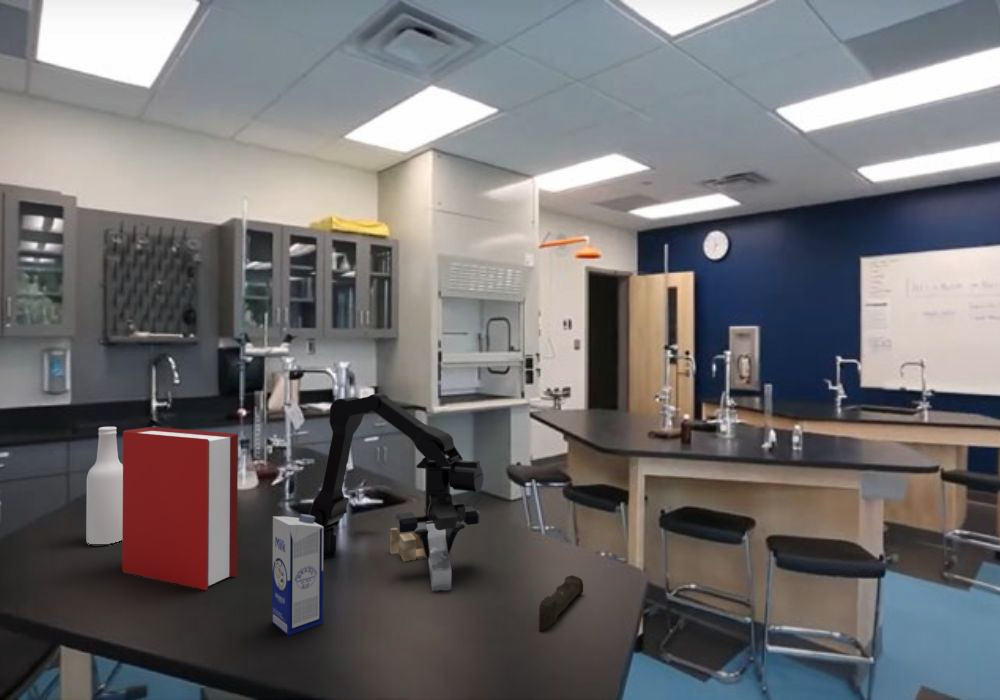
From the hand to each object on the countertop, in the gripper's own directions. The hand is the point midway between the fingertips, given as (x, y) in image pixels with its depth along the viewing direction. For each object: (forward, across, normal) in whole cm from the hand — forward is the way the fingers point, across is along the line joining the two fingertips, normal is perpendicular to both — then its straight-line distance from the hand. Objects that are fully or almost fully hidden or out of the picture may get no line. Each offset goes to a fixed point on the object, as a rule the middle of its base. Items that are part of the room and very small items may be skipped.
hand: (437, 556), depth 131 cm
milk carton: (+4, -31, -14) cm, 34 cm away
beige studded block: (+4, 0, +13) cm, 13 cm away
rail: (+1, 0, 0) cm, 1 cm away
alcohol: (+4, -75, +51) cm, 91 cm away
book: (+4, -55, +20) cm, 59 cm away
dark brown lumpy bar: (+4, +17, -28) cm, 33 cm away
